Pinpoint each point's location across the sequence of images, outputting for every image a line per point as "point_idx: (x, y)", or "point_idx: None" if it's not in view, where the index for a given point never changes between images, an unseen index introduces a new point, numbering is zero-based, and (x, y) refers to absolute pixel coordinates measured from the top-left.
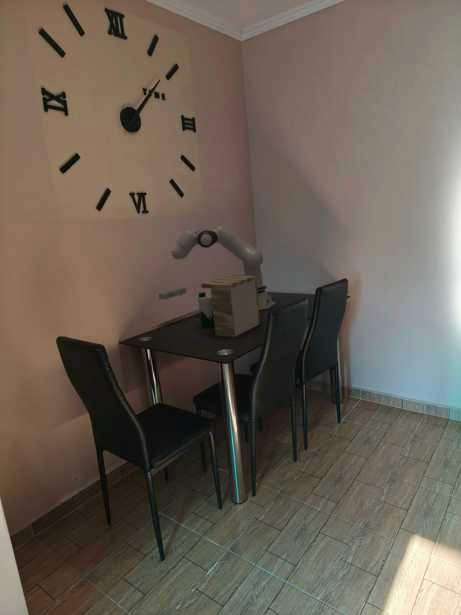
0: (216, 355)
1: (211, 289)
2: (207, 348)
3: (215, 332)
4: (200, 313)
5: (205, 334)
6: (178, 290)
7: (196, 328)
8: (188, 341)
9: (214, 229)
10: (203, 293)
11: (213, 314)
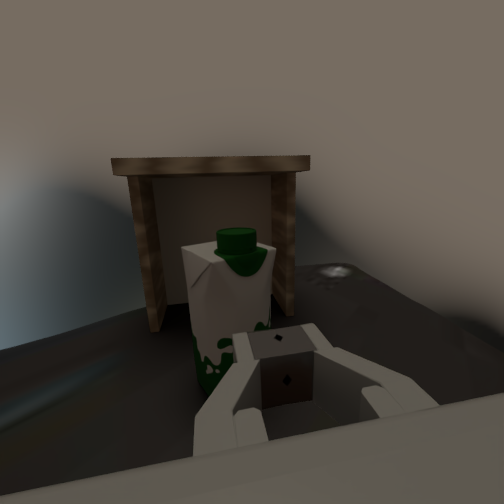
0: (355, 270)
1: (294, 177)
2: (355, 287)
3: (293, 307)
4: (269, 328)
5: None
6: (185, 469)
7: (294, 407)
8: (384, 328)
9: None
10: (241, 227)
11: (294, 256)
